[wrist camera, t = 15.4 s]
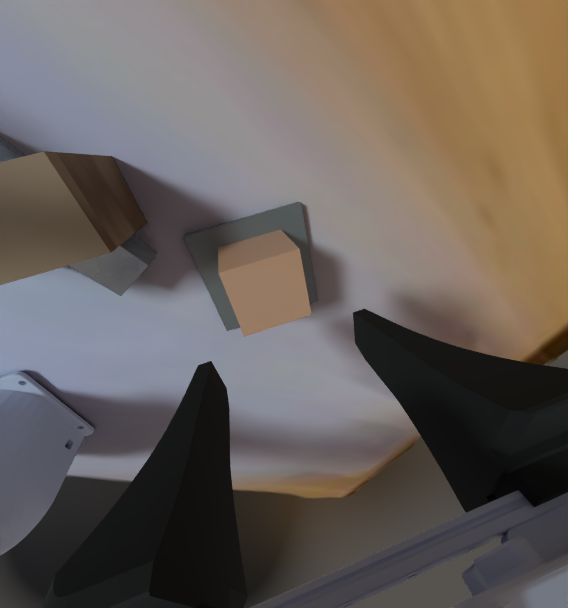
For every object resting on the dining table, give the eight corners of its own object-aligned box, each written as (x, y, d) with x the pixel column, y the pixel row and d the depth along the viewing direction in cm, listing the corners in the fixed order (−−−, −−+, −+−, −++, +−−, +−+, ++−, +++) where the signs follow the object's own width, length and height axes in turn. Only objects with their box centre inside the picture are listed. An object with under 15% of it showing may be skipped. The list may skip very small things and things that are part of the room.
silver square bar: (158, 251, 18) (148, 265, 15) (133, 278, 18) (120, 296, 16) (-13, 124, 13) (-70, 115, 10) (-39, 167, 13) (-99, 168, 11)
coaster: (315, 297, 23) (317, 300, 23) (226, 327, 22) (227, 331, 22) (298, 201, 18) (301, 202, 18) (184, 235, 17) (183, 237, 17)
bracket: (147, 222, 16) (111, 252, 11) (26, 256, 16) (-80, 308, 10) (112, 156, 14) (43, 151, 9) (-30, 192, 14) (-206, 213, 8)
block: (292, 284, 21) (311, 314, 17) (238, 301, 21) (244, 336, 16) (280, 229, 18) (299, 248, 14) (218, 247, 18) (218, 273, 14)
